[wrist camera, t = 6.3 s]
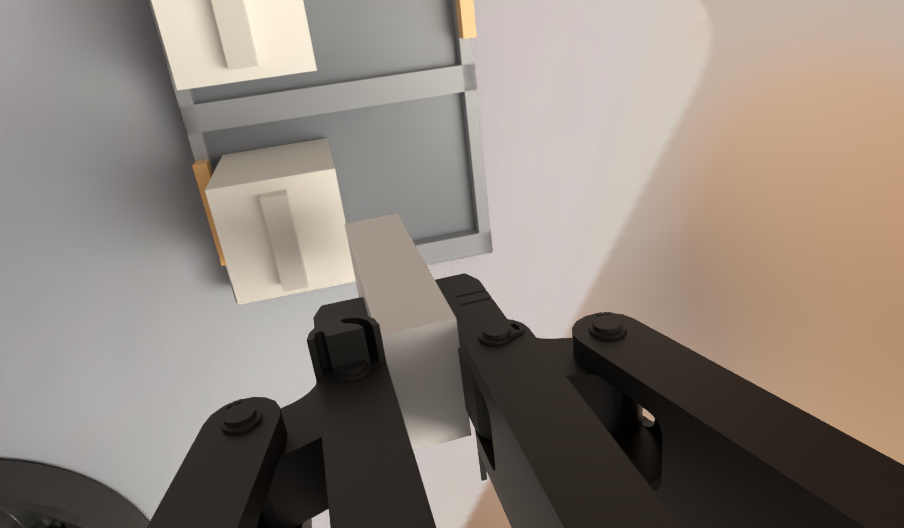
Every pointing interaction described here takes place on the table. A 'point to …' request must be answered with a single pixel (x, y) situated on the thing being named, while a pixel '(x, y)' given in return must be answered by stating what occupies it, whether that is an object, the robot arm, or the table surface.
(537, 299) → the table surface
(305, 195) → the tab
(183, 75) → the cream ridged block
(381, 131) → the frame
